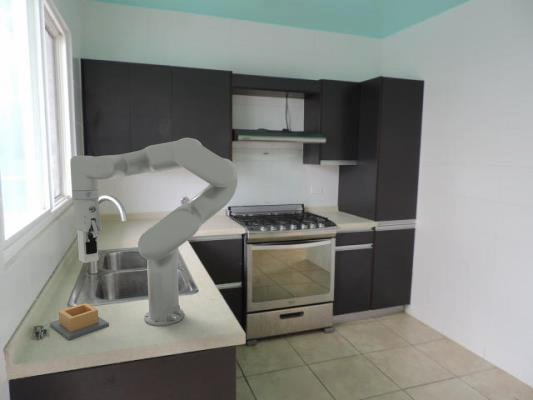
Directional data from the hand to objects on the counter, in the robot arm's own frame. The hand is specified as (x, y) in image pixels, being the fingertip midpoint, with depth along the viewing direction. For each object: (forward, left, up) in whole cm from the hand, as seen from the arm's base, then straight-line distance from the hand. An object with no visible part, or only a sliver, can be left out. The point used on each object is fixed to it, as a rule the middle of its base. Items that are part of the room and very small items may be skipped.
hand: (88, 251), depth 121 cm
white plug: (0, 0, -3) cm, 3 cm away
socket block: (-2, +5, -23) cm, 23 cm away
